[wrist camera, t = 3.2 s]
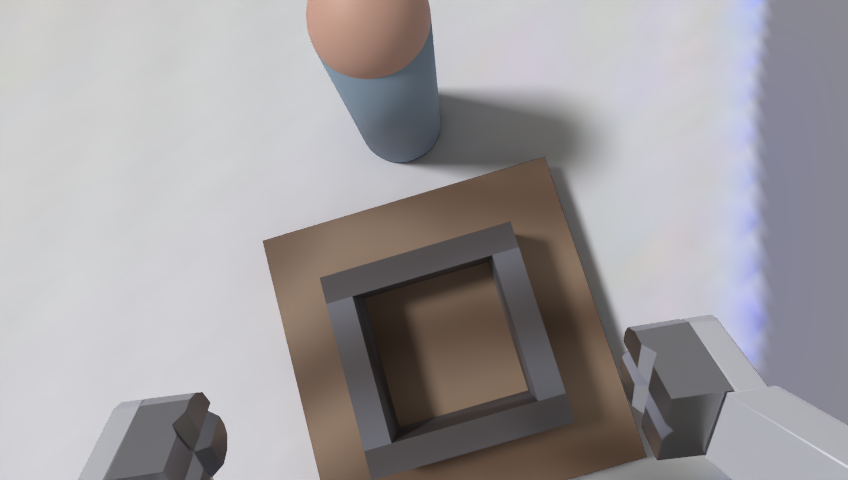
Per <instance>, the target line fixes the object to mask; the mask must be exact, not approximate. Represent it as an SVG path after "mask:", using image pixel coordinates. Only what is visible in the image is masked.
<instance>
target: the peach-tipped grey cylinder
mask: <svg viewBox="0 0 848 480" xmlns="http://www.w3.org/2000/svg"><path fill="white" fill-rule="evenodd" d="M306 20H307V28H308V33H309V36H310V39H311V42H312V44H313V47H314V49H315V50H316V52H317V54H318V56H319V58H320V60H321V62H322V63H323V65H324V67H325V69H326V71H327V72H328V74H329V76H330V78H331V80H332V82H333V83H334V85H335V87H336V89H337V91H338V93H339V94H340V96H341V98H342V100H343V102H344V104H345V105H346V107H347V109H348V111H349V113H350V115H351V116H352V118H353V120H354V122H355V124H356V126H357V127H358V129H359V131H360V133H361V135H362V137H363V138H364V140H365V142H366V144H367V145H368V147H369V148H370V149H371V150H372V151H373V152H374V153H375V154H376V155H377V156H379V157H381V158H383V159H385V160H388V161H391V162H408V161H412V160H415V159H417V158H419V157H421V156H423V155H424V154H425V153H427V152H428V151H429V150H430V149H431V148H432V146H433V145H434V143H435V142H436V140H437V138H438V135H439V132H440V125H441V121H440V110H439V99H438V88H437V78H436V67H435V56H434V45H433V34H432V24H431V13H430V6H429V2H428V0H308V1H307V10H306Z"/></svg>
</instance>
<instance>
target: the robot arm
mask: <svg viewBox="0 0 848 480" xmlns="http://www.w3.org/2000/svg"><path fill="white" fill-rule="evenodd" d="M624 343H625V345H626V347H627V349H628V351H627V352H626V353H625V354H624V355H623V356H622V359H621V374H622V381H623V385H624V388H625V391H626V394H627V396H628V399H629V401H630V403H631V405H632V406H633V407H634V408H636V409H637V410H639V411H640V412H641V413H643V414H644V415H643V421H642V429H643V431H644V433H645V435H646V438H647V440H648V442H649V444H650V446H651V448H652V450H653V452H654V455H655V457H656V459H657V460H663V459H672V458H681V457H690V456H699V455H706V456H705V458H707V459H708V460H709V461H710V462H711V463H713V464H714V465H715V466H716V467H717V468H719V469H720V470H721V471H722V472H723V473H725V474H726V475H727V476H728V477H729V478H731V479H732V480H848V425H847V424H845V423H843V422H842V421H840V420H838V419H837V418H835V417H833V416H831V415H829V414H828V413H826V412H824V411H822V410H820V409H819V408H817V407H815V406H813V405H811V404H809V403H808V402H806V401H804V400H802V399H800V398H799V397H797V396H795V395H793V394H791V393H790V392H788V391H786V390H784V389H782V388H781V387H779V386H769V387H768V385H767V384H766V383H765V381H764V380H763V379H762V377H761V376H760V375H759V373H758V372H757V371H756V369H755V368H754V367H753V365H752V364H751V363H750V362H749V360H748V359H747V358H746V356H745V355H744V354H743V352H742V351H741V350H740V348H739V347H738V346H737V344H736V343H735V342H734V340H733V339H732V338H731V336H730V335H729V334H728V332H727V331H726V330H725V328H724V327H723V326H722V324H721V323H720V322H719V320H718V319H717V318H715V317H714V316H712V315H706V316H700V317H693V318H686V319H682V320H681V319H676V320H670V321H664V322H658V323H652V324H646V325H640V326H633V327H628V328H627V330H626V331H625V336H624ZM209 405H210V402H209V400H208V399H207V398H206V396H205V395H204V394H203V392H201V393H191V394H183V395H175V396H166V397H158V398H150V399H143V400H136V401H129V402H121V403H120V404H119V405H118V406H117V407H116V408H115V409H114V410H113V411H112V413H111V415H110V417H109V419H108V421H107V423H106V425H105V427H104V429H103V431H102V433H101V435H100V437H99V439H98V441H97V443H96V445H95V447H94V449H93V451H92V453H91V455H90V457H89V458H88V460H87V462H86V464H85V466H84V468H83V470H82V472H81V474H80V476H79V478H78V480H214V479H213V476H214V474H215V473H216V472H217V471H218V470H219V469H220V468H221V467H222V465H223V464H224V460H225V456H226V452H227V432H226V429H225V425H224V423H223V421H222V420H221V418H220V417H219V416H218V415H215V414H213V413H211V412H209V411H208V408H209Z"/></svg>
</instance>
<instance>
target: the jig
mask: <svg viewBox="0 0 848 480" xmlns="http://www.w3.org/2000/svg"><path fill="white" fill-rule="evenodd" d="M263 244H264V248H265V252H266V256H267V261H268V265H269V269H270V273H271V277H272V281H273V285H274V290H275V294H276V298H277V302H278V306H279V310H280V315H281V319H282V323H283V327H284V331H285V335H286V339H287V344H288V348H289V352H290V356H291V360H292V364H293V368H294V373H295V377H296V381H297V385H298V389H299V393H300V398H301V402H302V406H303V410H304V414H305V418H306V422H307V427H308V431H309V435H310V439H311V443H312V447H313V452H314V456H315V460H316V464H317V468H318V472H319V476H320V480H568V479H571V478H575V477H578V476H582V475H585V474H589V473H592V472H596V471H599V470H603V469H606V468H610V467H613V466H617V465H620V464H624V463H627V462H631V461H634V460H638V459H641V458H645V457H647V456H646V453H645V450H644V447H643V444H642V441H641V439H640V436H639V433H638V430H637V427H636V424H635V421H634V418H633V415H632V412H631V409H630V406H629V403H628V400H627V397H626V395H625V392H624V389H623V386H622V383H621V380H620V377H619V374H618V371H617V368H616V365H615V362H614V359H613V356H612V354H611V351H610V348H609V345H608V342H607V339H606V336H605V333H604V330H603V327H602V324H601V321H600V318H599V315H598V312H597V310H596V307H595V304H594V301H593V298H592V295H591V292H590V289H589V286H588V283H587V280H586V277H585V274H584V271H583V268H582V266H581V263H580V260H579V257H578V254H577V251H576V248H575V245H574V242H573V239H572V236H571V233H570V230H569V227H568V224H567V222H566V219H565V216H564V213H563V210H562V207H561V204H560V201H559V198H558V195H557V192H556V189H555V186H554V183H553V180H552V178H551V175H550V172H549V169H548V166H547V163H546V160H545V157H542V158H539V159H535V160H532V161H529V162H525V163H522V164H519V165H515V166H512V167H509V168H505V169H502V170H498V171H495V172H492V173H488V174H485V175H482V176H478V177H475V178H472V179H468V180H465V181H462V182H458V183H455V184H452V185H448V186H445V187H442V188H438V189H435V190H431V191H428V192H425V193H421V194H418V195H415V196H411V197H408V198H405V199H401V200H398V201H395V202H391V203H388V204H385V205H381V206H378V207H375V208H371V209H368V210H364V211H361V212H358V213H354V214H351V215H348V216H344V217H341V218H338V219H334V220H331V221H328V222H324V223H321V224H318V225H314V226H311V227H308V228H304V229H301V230H297V231H294V232H291V233H287V234H284V235H281V236H277V237H274V238H271V239H267V240H264V241H263Z"/></svg>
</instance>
